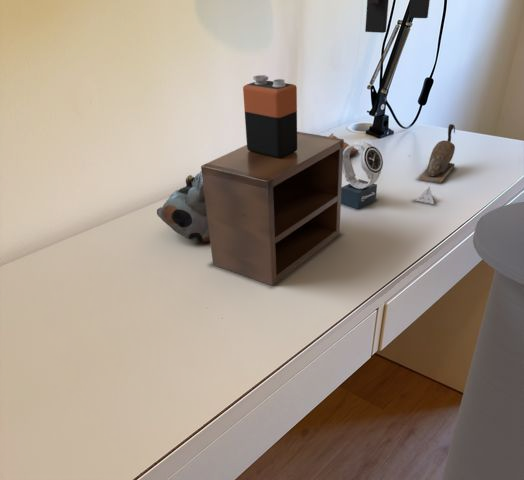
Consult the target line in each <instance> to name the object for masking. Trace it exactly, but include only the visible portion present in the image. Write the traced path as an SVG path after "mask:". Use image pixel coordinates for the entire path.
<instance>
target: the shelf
mask: <svg viewBox="0 0 524 480" xmlns="http://www.w3.org/2000/svg"><path fill="white" fill-rule="evenodd" d="M344 142H345V140H344V138H339V137H337V138H333V137H329V136H327V135H320V134H314V133H309V132H303V131H297V150H296V151H295V152H293V153H290V154H288V155H286V156H284V157H281V158H276V157H272V156H268V155H264V154H260V153H256V152H252V151H249V150H248V149H247V144H245V145H242V146H241V147H239V148H237V149H235V150H232V151H230V152H228V153H226V154H224V155H222V156H219V157H218V158H215V159H213V160H210V161H209V162H206V163H204V164H202V165H200V169H201V171H202V179H203V187H204V195H205V203H206V211H207V219H208V227H209V235H210V241H209V242H210V250H211V251H210V252H211V258H212V265H213V266H215V267H218V268H221V269H224V270H227V271H229V272H232V273H235V274H238V275H240V276H244V277H247V278H249V279H252V280H255V281H258V282H261V283H263V284H266V285H269V286H274V285H275V284H276V283H278V282H279V281H281V280H282V279H283V278H285V277H286V276H287V275H288V274H290V273H291V272H292V271H294V270H295V269H297V268H298V267H299V266H300V265H301V264H303V263H304V262H305V261H307V260H308V259H309V258H310V257H312V256H313V255H315V254H316V253H317V252H319V251H320V250H322V248H324V247H325V246H327V245H328V244H329V243H330V242H332V241H333V240H334V239H335V238H337V237H338V236H340V233H341V232H340V231H341V230H340V229H341V210H342V209H341V208H342V207H341V206H342V204H341V189H342V187H343V171H342V166H343V145H344ZM201 171H200V172H201Z"/></svg>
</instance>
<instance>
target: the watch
mask: <svg viewBox="0 0 524 480" xmlns="http://www.w3.org/2000/svg"><path fill="white" fill-rule="evenodd" d="M349 145H350V146H348V147H347V148H345V150H344V151H343V166H342V175H343V177H344V179H345V181H346V182H348V184H346V185H342V189H341V205H344V206H347V207H350V208H354V209H356V210H359V209H361V208H363V207H365V206H367V205H370V204H371V203H373V202H375V201H376V200H377V190H378V184H377V183H376V182H377V181H378V179H379V177H380V175H381V173H382V169H383V165H384V159H383V155H382V154H381V151H380V150H379V148H377V147H376V146H373V145H372V144H371V143H369V142H366V141H357V142H355V143H353V144H349ZM353 147H354V148H357V150H358V154H359V163H360V167H361V169H362V170H363V172H364V173H365V174H366V176H367V180H368V181H367V180H363V179H360V178H359V179H357V178H356V176H357V175H356V173H355V170H354V167H353V163H352V160H351V157H350V156H349V155H350V152H351V149H352V148H353Z"/></svg>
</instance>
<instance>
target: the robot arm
mask: <svg viewBox="0 0 524 480" xmlns="http://www.w3.org/2000/svg"><path fill="white" fill-rule="evenodd" d="M430 1H431V0H410V2H409V11H408V19H427V18H429V9H430V8H429V7H430ZM388 12H389V0H366V14H365V29H364V33H377V34H379V33H380V34H381V33H382V34H384V33H386V32H387V24H388Z"/></svg>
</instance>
